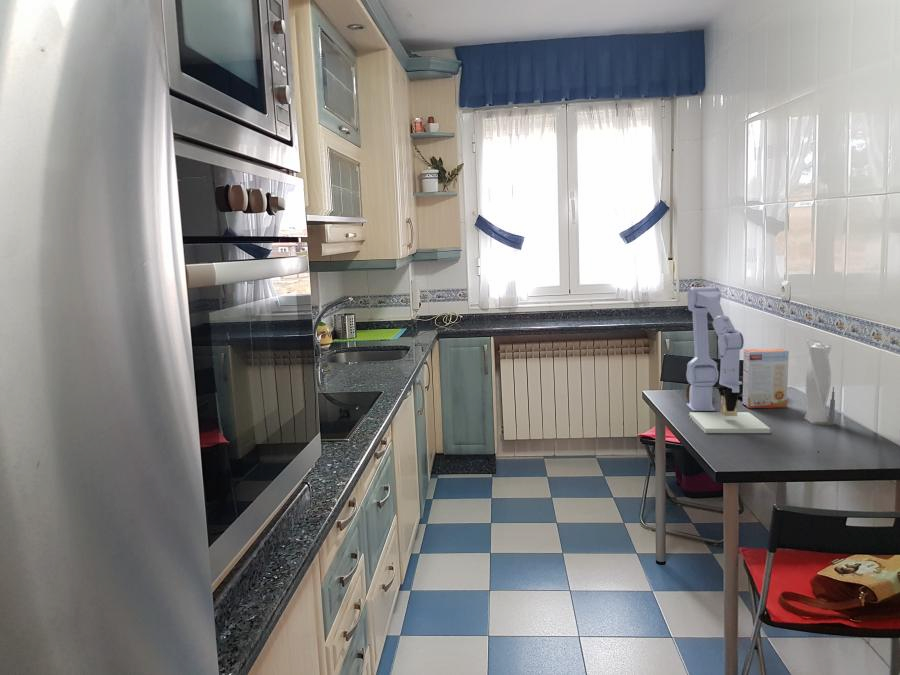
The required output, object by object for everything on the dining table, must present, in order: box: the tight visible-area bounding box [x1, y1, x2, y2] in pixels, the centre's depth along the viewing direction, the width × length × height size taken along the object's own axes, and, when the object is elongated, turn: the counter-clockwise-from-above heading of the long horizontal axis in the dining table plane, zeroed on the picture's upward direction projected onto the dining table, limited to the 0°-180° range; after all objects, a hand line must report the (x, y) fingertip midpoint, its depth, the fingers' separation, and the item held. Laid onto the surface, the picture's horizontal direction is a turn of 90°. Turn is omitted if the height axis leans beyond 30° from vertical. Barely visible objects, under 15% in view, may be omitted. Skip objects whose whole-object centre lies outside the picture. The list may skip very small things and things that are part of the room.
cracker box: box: [742, 348, 790, 409], centre depth 251 cm, size 14×6×21 cm, turn 89°
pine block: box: [720, 395, 739, 416], centre depth 229 cm, size 4×4×6 cm
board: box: [688, 411, 771, 434], centre depth 230 cm, size 20×20×2 cm
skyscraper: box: [803, 339, 836, 426], centre depth 230 cm, size 8×8×28 cm
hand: (728, 409), depth 230 cm, fingers closed on pine block, 4 cm apart
